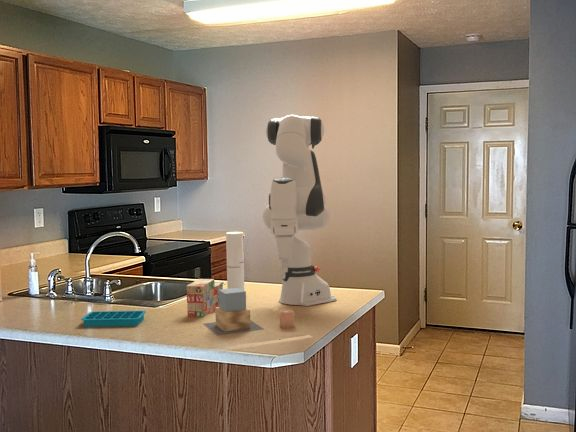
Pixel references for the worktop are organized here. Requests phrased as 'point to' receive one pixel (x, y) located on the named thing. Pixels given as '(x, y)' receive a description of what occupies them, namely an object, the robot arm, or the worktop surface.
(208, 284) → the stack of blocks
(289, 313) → the terracotta cylinder
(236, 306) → the slate-blue block
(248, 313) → the oak block
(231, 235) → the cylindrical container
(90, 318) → the ice cube tray
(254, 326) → the charcoal rubber mat
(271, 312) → the worktop surface
